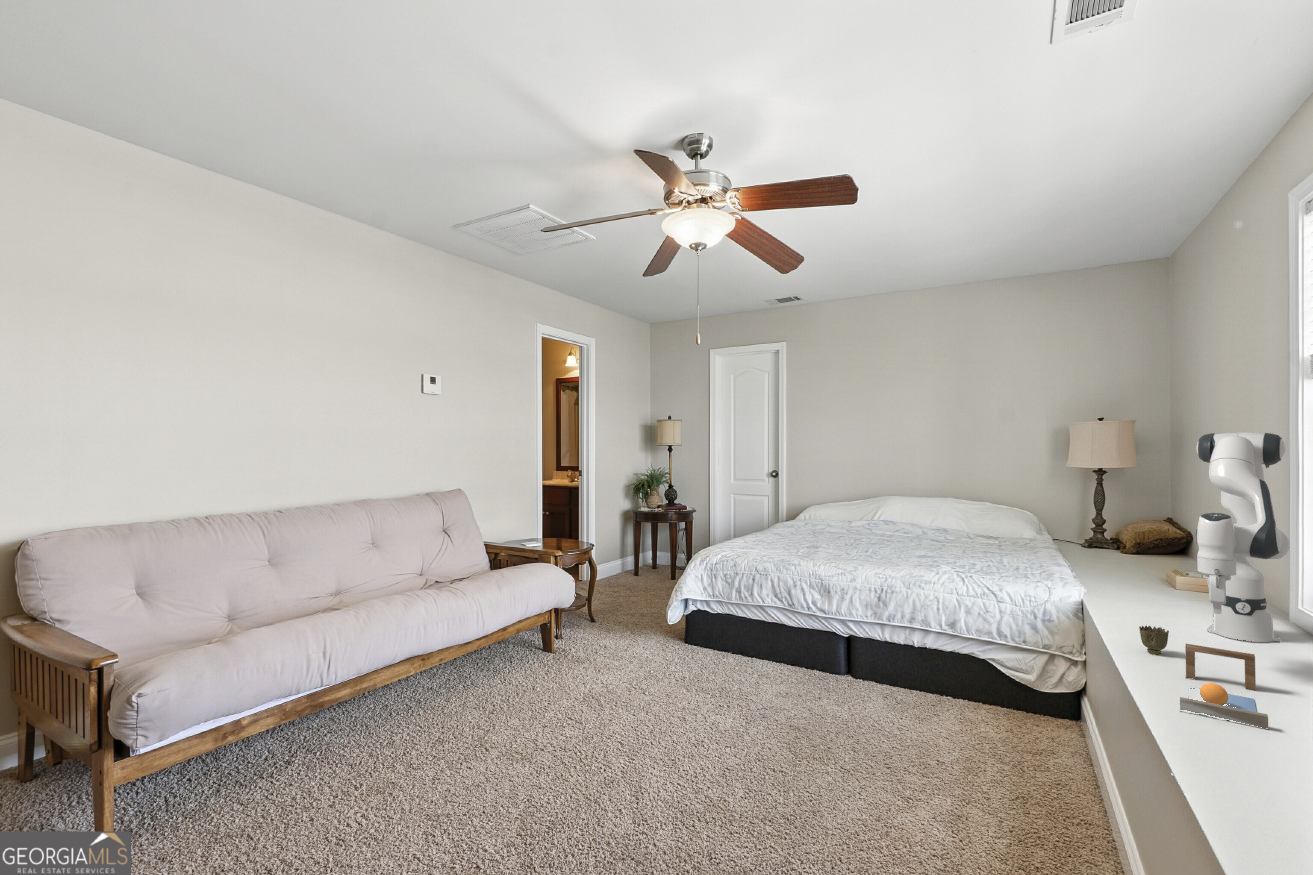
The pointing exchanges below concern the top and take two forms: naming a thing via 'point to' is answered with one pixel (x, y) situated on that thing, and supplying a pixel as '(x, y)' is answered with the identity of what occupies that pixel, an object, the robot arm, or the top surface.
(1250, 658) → the bridge
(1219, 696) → the ball
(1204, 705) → the wall
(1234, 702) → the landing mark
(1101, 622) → the top surface
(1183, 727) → the top surface
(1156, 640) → the cup
